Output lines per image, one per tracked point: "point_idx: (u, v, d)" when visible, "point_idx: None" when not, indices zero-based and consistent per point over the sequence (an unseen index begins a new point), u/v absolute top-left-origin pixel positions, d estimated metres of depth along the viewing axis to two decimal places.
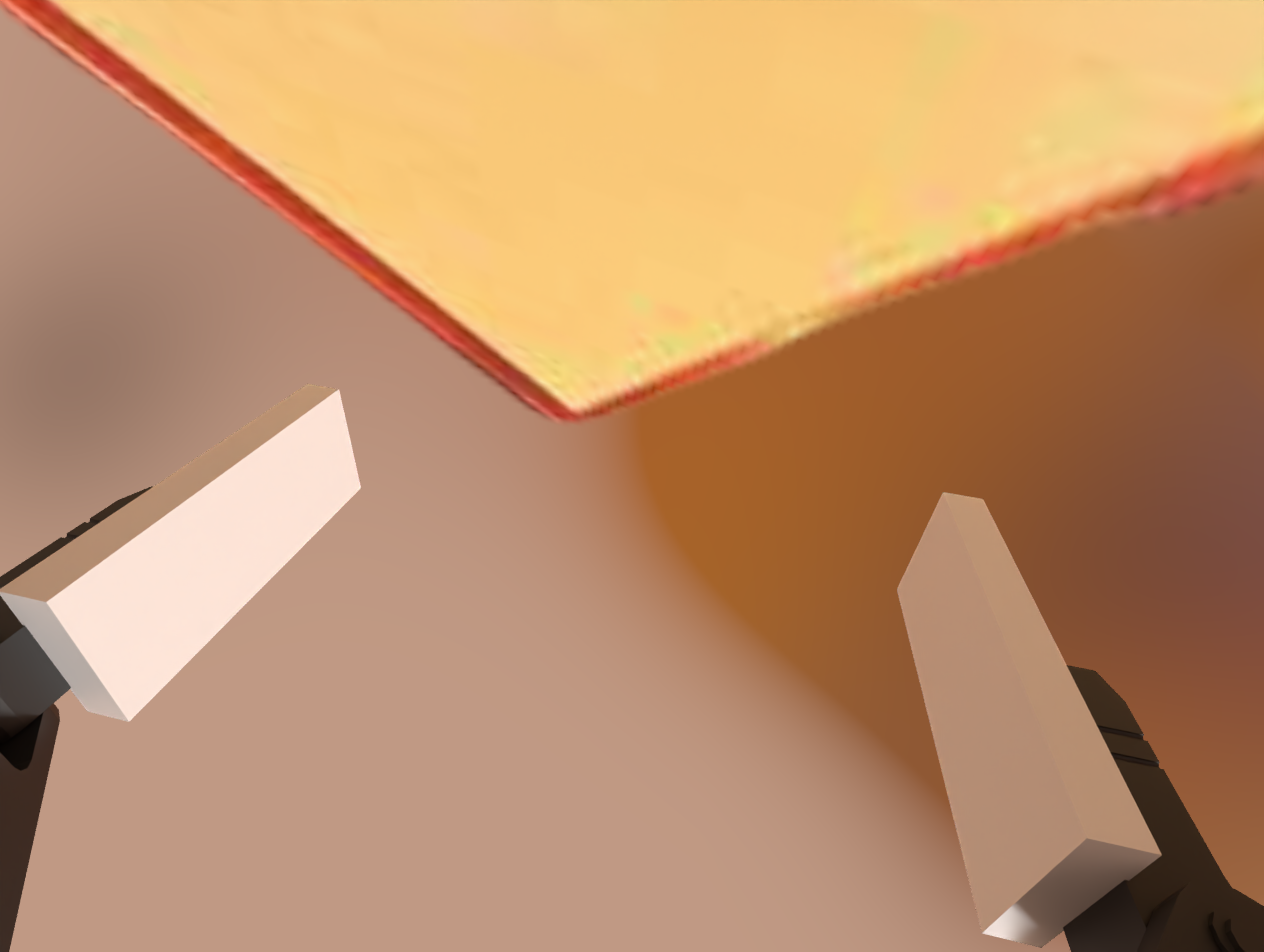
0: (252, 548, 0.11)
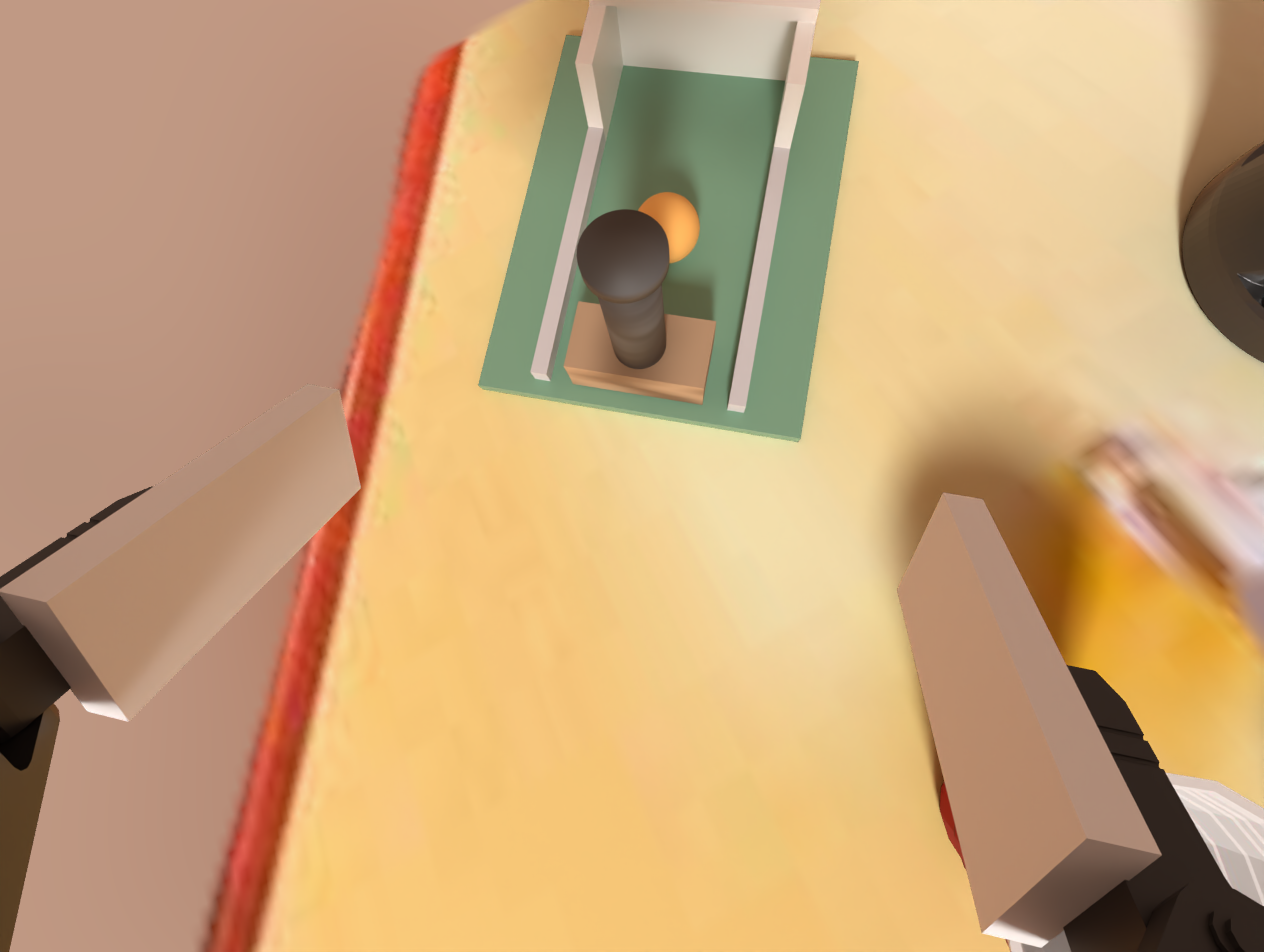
0: (252, 548, 0.11)
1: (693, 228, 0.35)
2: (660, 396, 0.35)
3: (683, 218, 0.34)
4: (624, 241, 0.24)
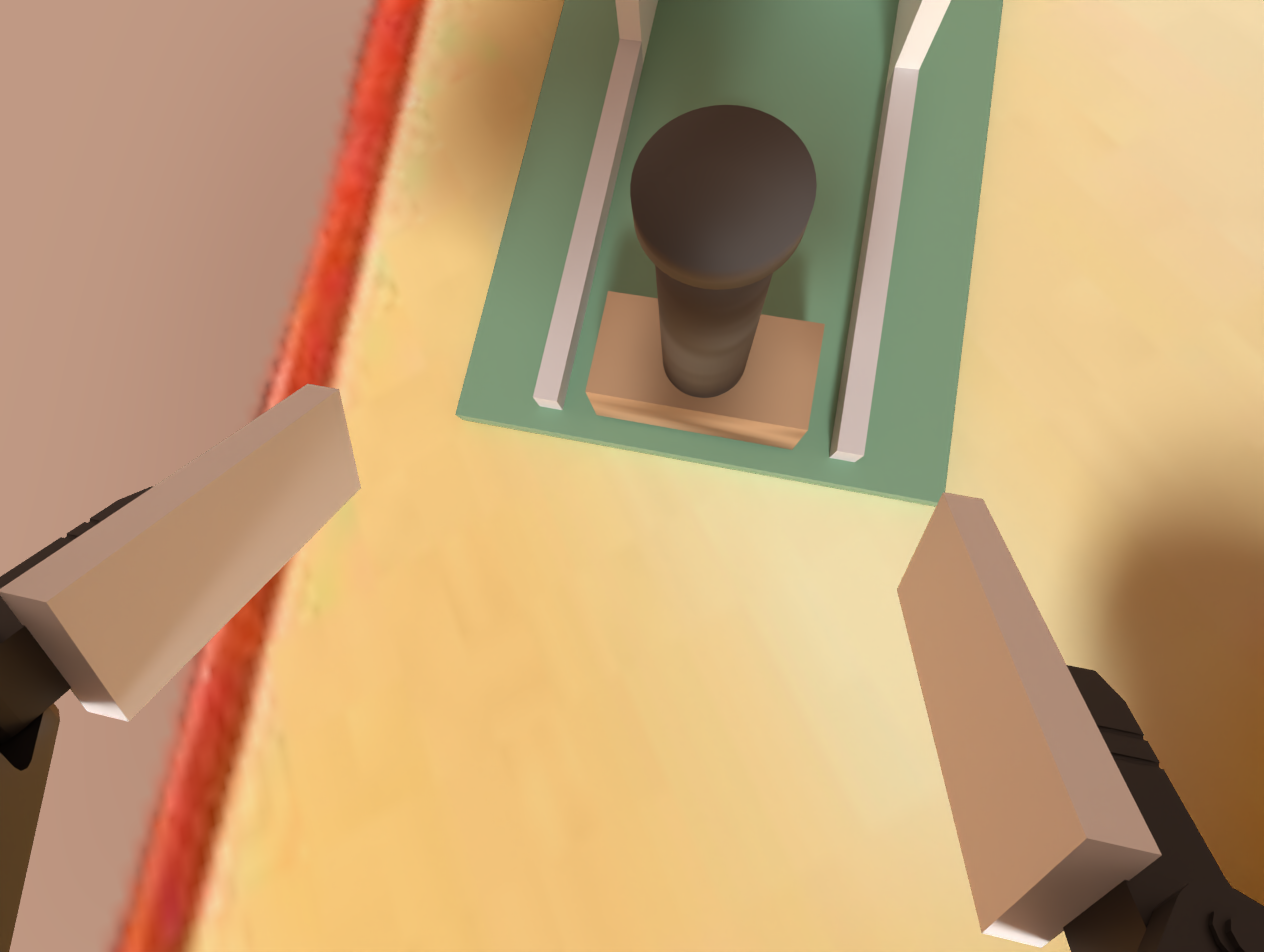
0: (252, 548, 0.11)
1: None
2: (729, 436, 0.24)
3: None
4: (725, 166, 0.12)
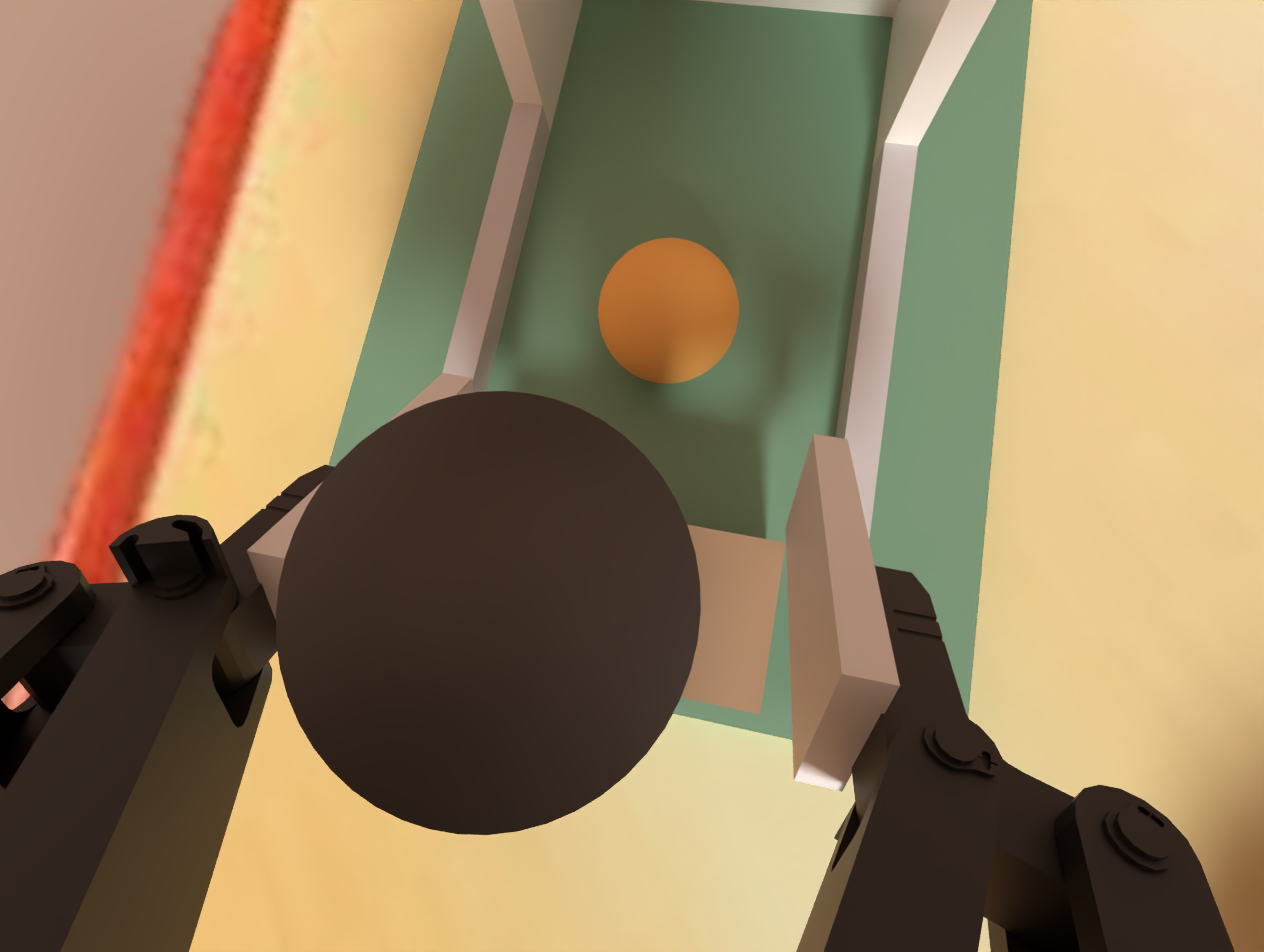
0: None
1: (728, 318, 0.16)
2: None
3: (707, 299, 0.15)
4: (494, 548, 0.05)
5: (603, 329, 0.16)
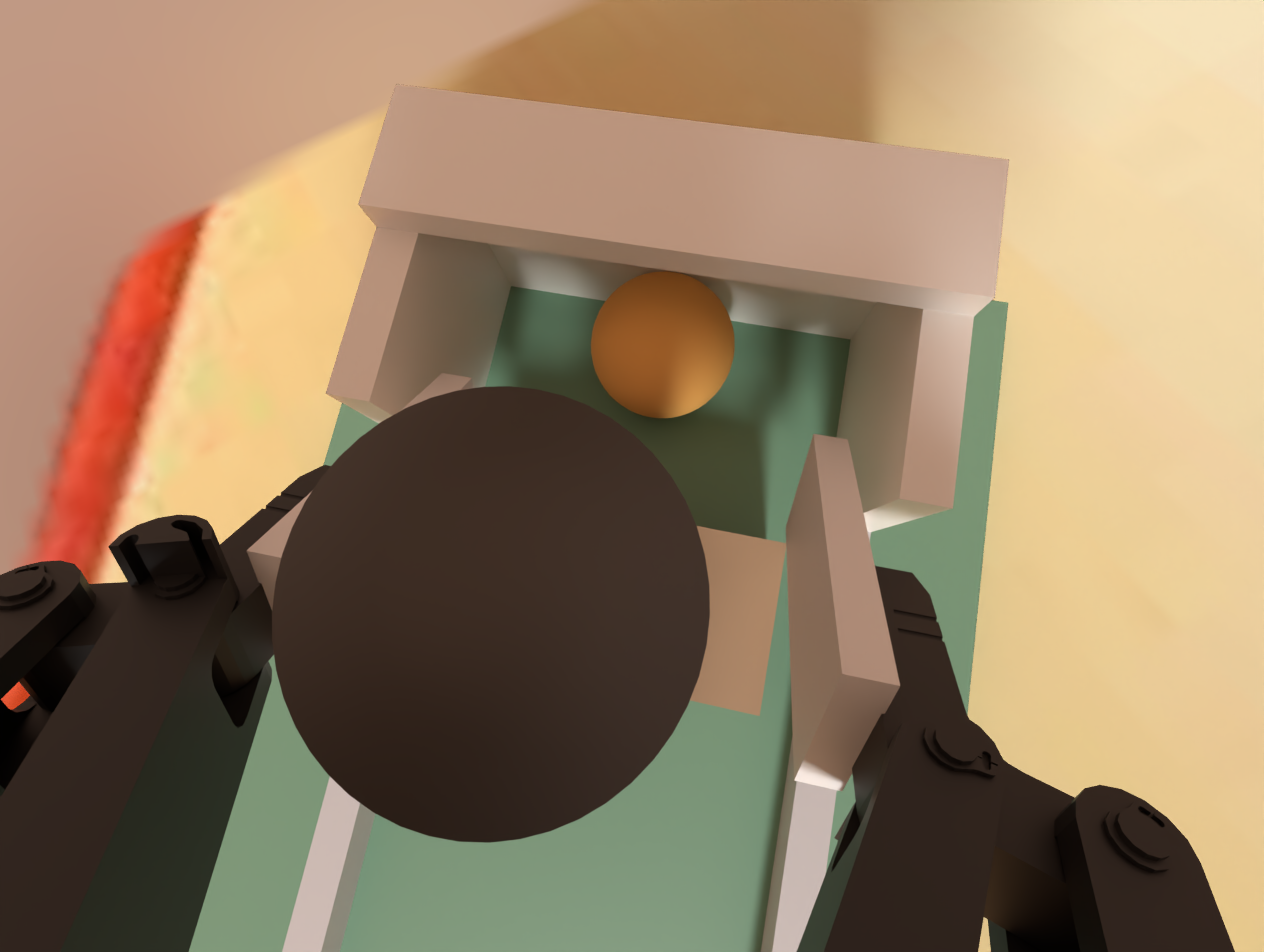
0: None
1: (717, 384, 0.16)
2: None
3: (692, 390, 0.15)
4: (497, 547, 0.05)
5: None
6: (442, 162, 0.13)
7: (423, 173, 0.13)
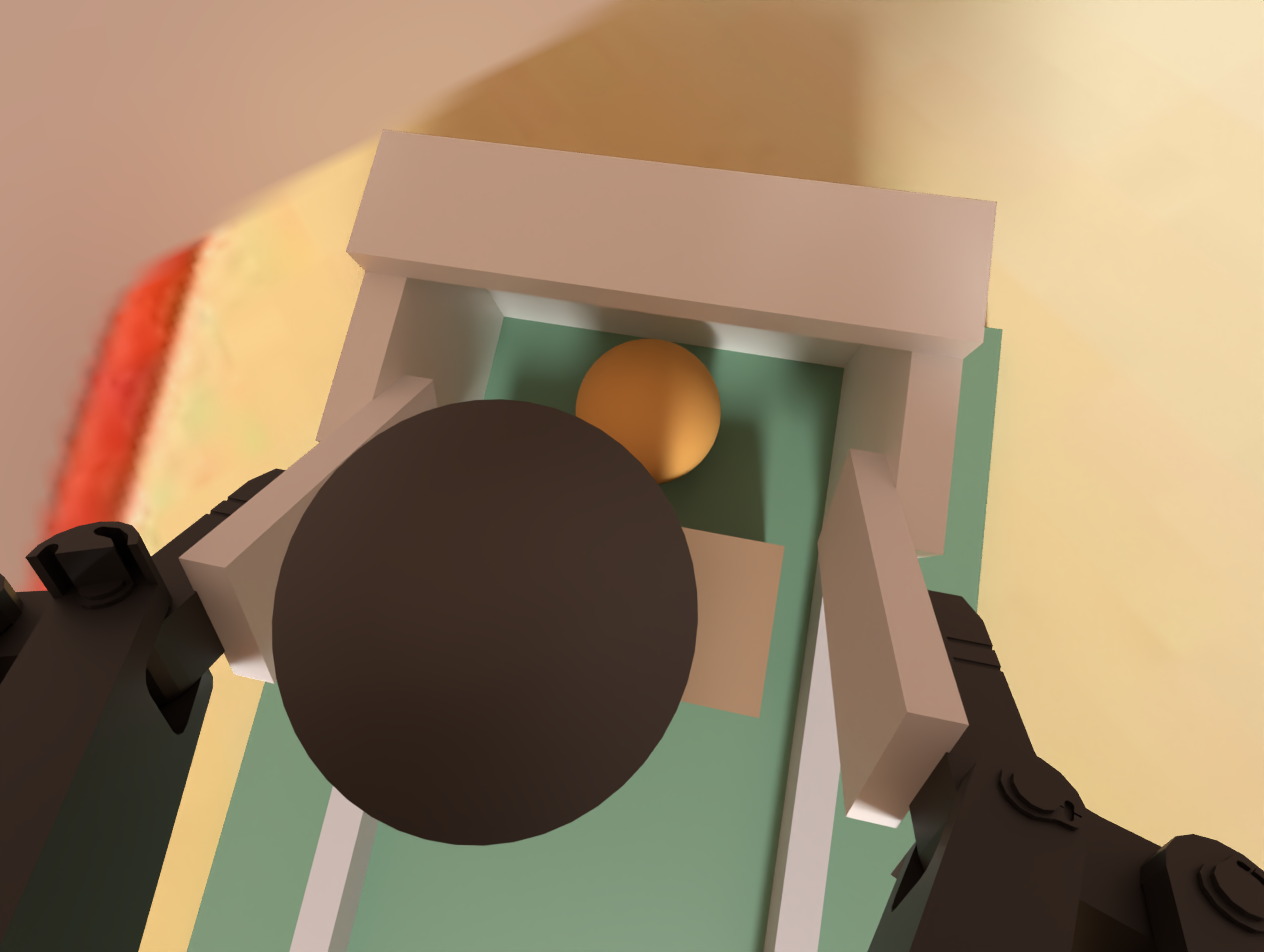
0: None
1: (702, 458, 0.16)
2: None
3: (676, 476, 0.16)
4: (490, 557, 0.05)
5: None
6: (429, 208, 0.13)
7: (410, 219, 0.13)
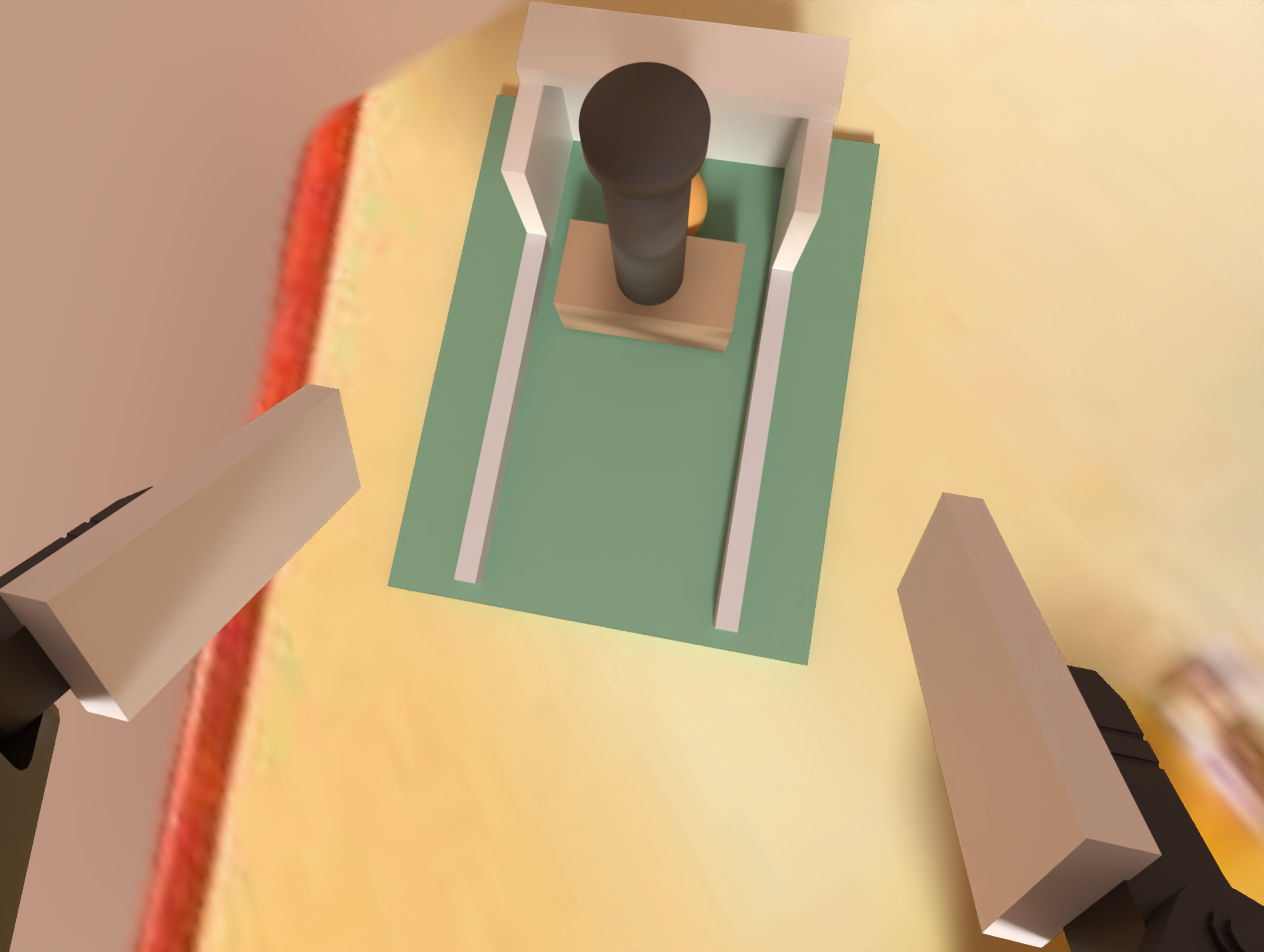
0: (252, 548, 0.11)
1: (697, 231, 0.28)
2: (674, 342, 0.29)
3: None
4: (646, 107, 0.17)
5: None
6: (559, 43, 0.24)
7: (549, 49, 0.24)
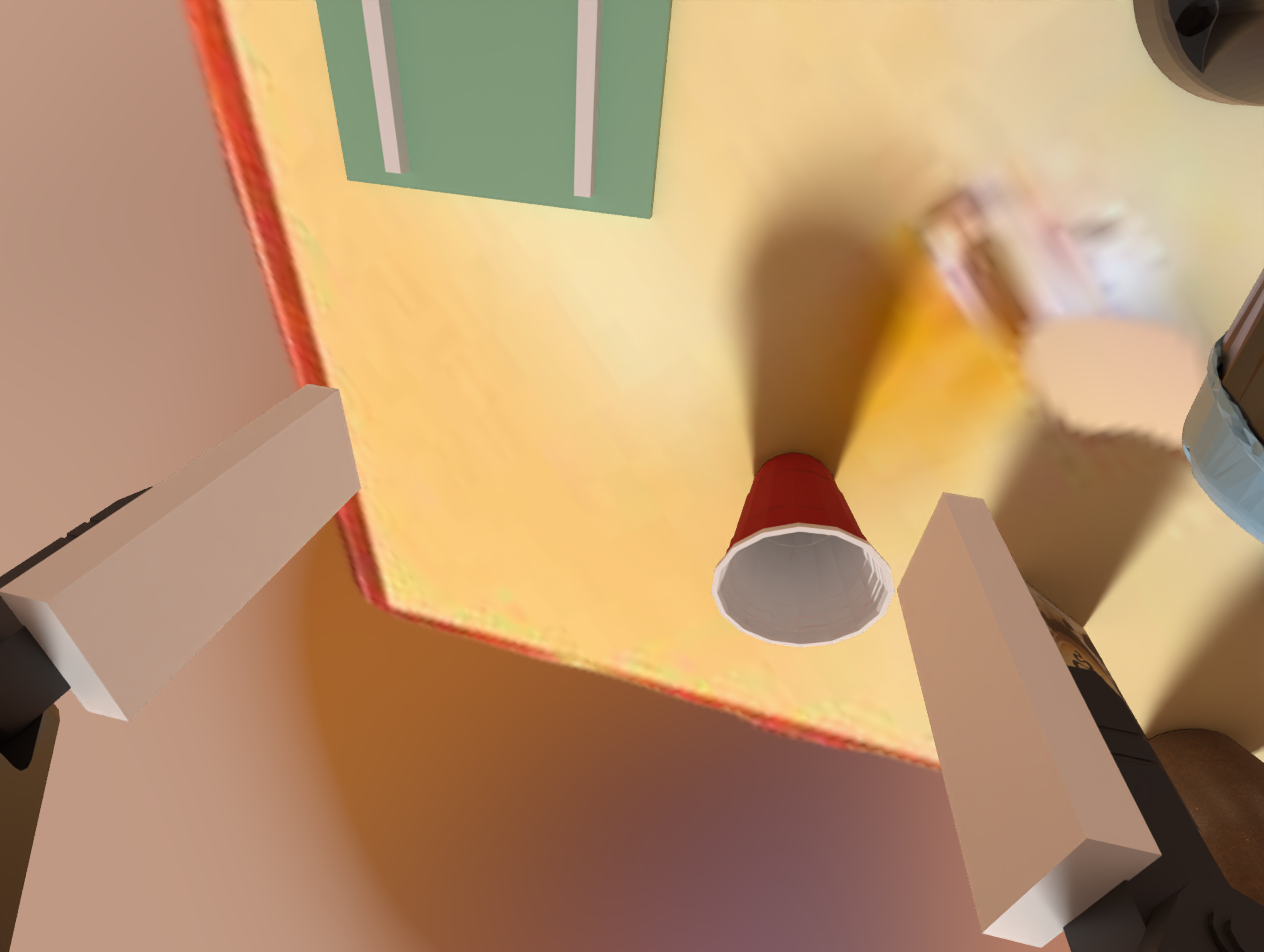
0: (252, 548, 0.11)
1: None
2: None
3: None
4: None
5: None
6: None
7: None
